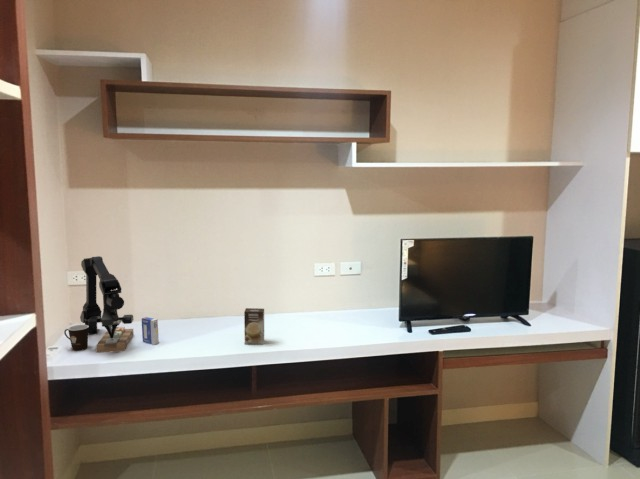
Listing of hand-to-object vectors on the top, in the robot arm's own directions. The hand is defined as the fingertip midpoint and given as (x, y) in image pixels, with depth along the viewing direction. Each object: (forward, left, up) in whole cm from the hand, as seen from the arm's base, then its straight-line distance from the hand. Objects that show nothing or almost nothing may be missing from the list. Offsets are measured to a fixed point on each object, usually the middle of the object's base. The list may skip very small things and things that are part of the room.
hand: (112, 338), depth 237 cm
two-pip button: (-14, 0, -3) cm, 14 cm away
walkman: (-6, +16, -5) cm, 18 cm away
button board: (-7, 0, -5) cm, 9 cm away
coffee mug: (-4, -16, -5) cm, 17 cm away
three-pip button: (-7, 0, -3) cm, 8 cm away
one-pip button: (0, 0, -4) cm, 4 cm away
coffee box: (+3, +65, -5) cm, 65 cm away
